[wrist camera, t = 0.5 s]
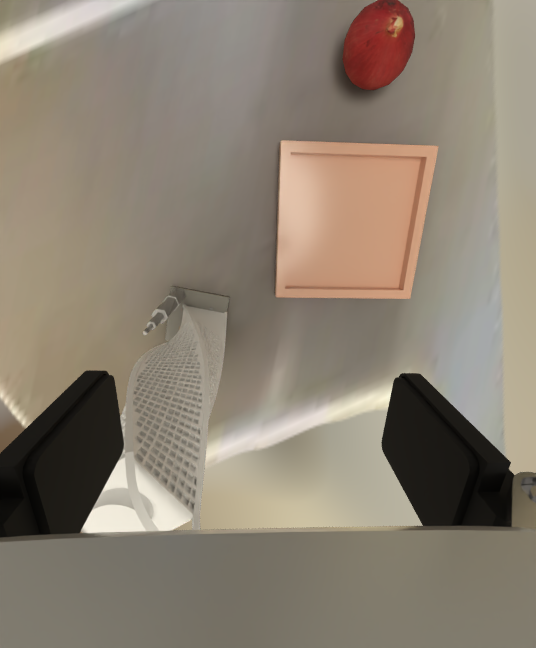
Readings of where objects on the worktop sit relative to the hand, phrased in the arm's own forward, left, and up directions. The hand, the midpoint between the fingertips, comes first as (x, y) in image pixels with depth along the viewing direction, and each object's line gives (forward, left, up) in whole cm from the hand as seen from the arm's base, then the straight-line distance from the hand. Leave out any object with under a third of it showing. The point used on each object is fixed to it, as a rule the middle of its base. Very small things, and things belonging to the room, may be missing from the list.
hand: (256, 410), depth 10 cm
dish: (-5, +11, -28) cm, 30 cm away
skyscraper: (+7, -6, -28) cm, 30 cm away
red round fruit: (-20, +11, -28) cm, 36 cm away
